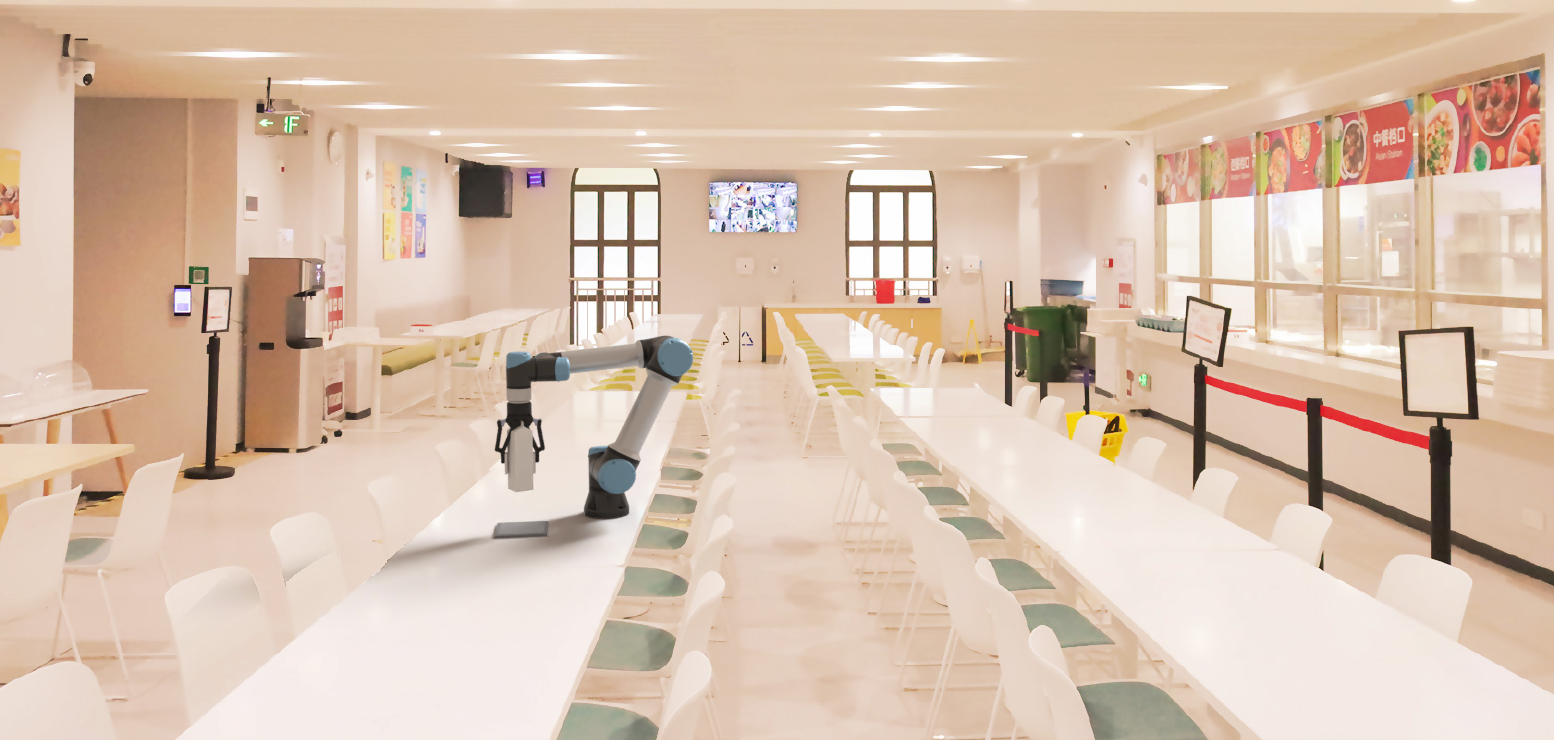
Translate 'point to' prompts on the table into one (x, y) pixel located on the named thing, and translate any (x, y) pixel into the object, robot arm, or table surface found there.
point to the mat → (521, 529)
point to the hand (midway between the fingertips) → (520, 473)
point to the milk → (520, 459)
